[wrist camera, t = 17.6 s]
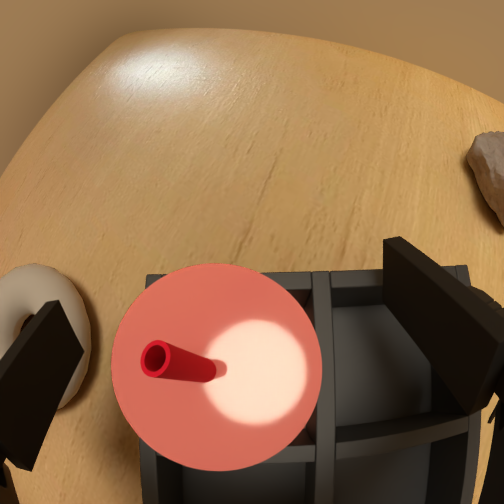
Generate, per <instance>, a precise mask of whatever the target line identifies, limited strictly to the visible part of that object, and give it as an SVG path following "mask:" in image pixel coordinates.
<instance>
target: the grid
mask: <svg viewBox="0 0 504 504" xmlns="http://www.w3.org/2000/svg"><path fill="white" fill-rule="evenodd" d="M441 267H442V268H444V269H445V270H446V271H447V272H449V273H450V274H451V275H453V276H454V277H455V278H456V279H458V280H459V281H460V282H461V283H463V284H464V285H465V286H466V287H468V286H471V282H470V277H469V272H468V267H467V265H456V266H441ZM260 274H263V275H265V276H266V277H268V278H270V279H272V280H273V281H275V282H276V283H278V284H279V285H280V286H282V287H283V288H284V289H285V290H286V291H288V292H289V293H290V294H291V295H292V296H293V297H294V298H295V300H296V301H297V302H298V303H299V304H300V306H301V307H302V308H303V310H304V311H305V313H306V314H307V316H308V318H309V319H310V321H311V323H312V325H313V328H314V330H315V333H316V335H317V338H318V342H319V346H320V351H321V357H322V381H321V388H320V392H319V396H318V400H317V403H316V405H315V408H314V410H313V412H312V414H311V416H310V418H309V420H308V422H307V423H306V425H305V426H304V428H303V429H302V431H301V432H300V433H299V434H298V435H297V437H296V438H295V439H294V440H293V441H292V442H291V443H290V444H289V445H287V446H286V447H285V448H284V449H283V450H281V451H280V452H278V453H277V454H275V455H274V456H272V457H271V458H269V459H267V460H265V461H263V462H260V463H258V464H255V465H253V466H250V467H246V468H242V469H237V470H230V471H207V470H200V469H195V468H191V467H187V466H184V465H181V464H179V463H176V462H174V461H172V460H170V459H168V458H166V457H164V456H163V455H161V454H159V453H158V452H156V451H155V450H154V449H152V448H151V447H150V446H149V445H148V444H146V443H145V442H144V441H143V440H142V439H141V438H140V437H139V448H140V471H141V487H142V499H143V504H472V499H473V493H474V487H475V480H476V473H477V465H478V456H479V445H480V430H481V410H479V411H478V412H476V413H474V414H472V415H470V416H467V414H466V413H465V411H464V410H463V408H462V407H461V406H460V404H459V403H458V401H457V400H456V398H455V397H454V395H453V394H452V393H451V391H450V390H449V388H448V387H447V386H446V384H445V383H444V381H443V380H442V379H441V377H440V376H439V374H438V373H437V372H436V370H435V369H434V368H433V366H432V365H431V364H430V362H429V361H428V359H427V358H426V357H425V355H424V354H423V353H422V351H421V350H420V349H419V348H418V346H417V345H416V344H415V342H414V341H413V340H412V338H411V337H410V336H409V334H408V333H407V332H406V331H405V329H404V328H403V327H402V326H401V324H400V323H399V322H398V320H397V319H396V318H395V317H394V315H393V314H392V313H391V312H390V310H389V309H388V308H387V307H386V305H385V304H384V303H383V302H382V287H383V269H374V270H347V271H330V273H329V271H313V272H310V271H309V272H271V273H260ZM166 275H168V274H163V275H161V274H148V275H147V276H146V285H145V289H147V288H148V287H149V286H150V285H152V284H153V283H154V282H156V281H157V280H159V279H160V278H162V277H164V276H166Z"/></svg>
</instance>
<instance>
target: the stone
mask: <svg viewBox="0 0 504 504" xmlns="http://www.w3.org/2000/svg"><path fill="white" fill-rule="evenodd" d="M466 157H467V161H468V163H469V165H470V167H471V168H472V169H473V171H474V173H475V177H476V181H477V184H478V185H479V189H480V191H481V192H482V194H483V196H484V199H485V200H486V202H487V203H488V205H489V206H490V208H491V209H493V210H494V211H495V212H496V214H497V217H498V219H499V221H500V223H501V224H502V225H503V227H504V132H499V131H496V132H495V133H494V132H488V133H482V134H480V135H477V136H475V139H474V141H473V144H472V146H471V148H470V150H469V152H468V154H467V156H466Z"/></svg>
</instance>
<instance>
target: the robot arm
mask: <svg viewBox="0 0 504 504" xmlns="http://www.w3.org/2000/svg"><path fill="white" fill-rule="evenodd" d="M382 302H383V303H384V304H385V305H386V307H387V308H388V309H389V310H390V312H391V313H392V314H393V315H394V317H395V318H396V319H397V320H398V322H399V323H400V324H401V326H402V327H403V328H404V329H405V331H406V332H407V333H408V334H409V336H410V337H411V338H412V340H413V341H414V342H415V344H416V345H417V346H418V348H419V349H420V350H421V351H422V353H423V354H424V355H425V357H426V358H427V359H428V361H429V362H430V364H431V365H432V366H433V368H434V369H435V370H436V372H437V373H438V374H439V376H440V377H441V379H442V380H443V381H444V383H445V384H446V386H447V387H448V388H449V390H450V391H451V393H452V394H453V395H454V397H455V398H456V400H457V401H458V403H459V404H460V406H461V407H462V408H463V410H464V411H465V413H466V414H467V416H470V415H472V414H474V413H476V412H478V411H479V410H481V409H483V408H485V407H486V406H488V404H489V402H490V400H491V398H492V396H493V394H494V392H495V394H496V395H497V396H498V397H499V401H498V403H497V405H496V407H495V408H494V410H493V412H492V414H491V416H490V417H489V420H488V423H490V424H491V422H492V420H493V418H494V417H495V423H494V431H493V438H492V444H491V450H490V456H489V461H488V466H487V471H486V475H485V479H484V484H483V488H482V491H481V495H480V499H479V502H478V504H504V308H502V306H501V305H500V304H499V303H497V302H496V301H494V299H493V298H491V297H490V296H489V295H488V294H486V293H485V292H484V291H482V290H480V289H477V288H475V287H473V286H468V287H466V286H465V285H464V284H463V283H461V282H460V281H459V280H458V279H456V278H455V277H454V276H453V275H451V274H450V273H449V272H447V271H446V270H445V269H444V268H442V267H441V266H440V265H438V264H437V263H436V262H434V261H433V260H432V259H430V258H429V257H428V256H426V255H425V254H424V253H422V252H421V251H420V250H418V249H417V248H416V247H414V246H413V245H412V244H410V243H409V242H407V241H406V240H405V239H403V238H402V237H400V236H398V237H393V238H388V239H383V287H382ZM84 352H85V351H84V349H83V348H82V346H81V344H80V342H79V340H78V338H77V336H76V334H75V332H74V330H73V328H72V326H71V324H70V322H69V320H68V318H67V316H66V314H65V311H64V309H63V307H62V305H61V303H60V301H59V300H53V301H47V302H45V304H44V305H43V306H42V307H41V308H40V309H39V311H38V312H37V313H36V314H35V316H34V317H33V318H32V319H31V320H30V322H29V323H28V324H27V325H26V327H25V328H24V329H23V330H22V332H21V333H20V334H19V336H18V337H17V338H16V339H15V341H14V342H13V343H12V345H11V346H10V347H9V349H8V350H7V351H6V353H5V354H4V355H3V357H2V358H1V360H0V504H20V503H19V500H18V497H17V494H16V491H15V487H14V484H13V480H12V476H11V472H10V470H9V468H8V466H7V465H6V464H5V463H4V461H5V459H6V458H7V459H8V460H9V461H10V462H12V463H13V464H14V465H15V466H16V467H17V468H20V469H23V470H27V471H31V472H32V469H33V467H34V464H35V461H36V459H37V456H38V454H39V451H40V448H41V446H42V443H43V441H44V439H45V436H46V434H47V431H48V429H49V427H50V424H51V422H52V420H53V417H54V415H55V413H56V411H57V408H58V406H59V404H60V402H61V399H62V397H63V395H64V393H65V391H66V389H67V387H68V384H69V382H70V380H71V378H72V376H73V374H74V372H75V370H76V368H77V366H78V364H79V362H80V360H81V358H82V356H83V354H84Z"/></svg>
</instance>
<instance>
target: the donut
mask: <svg viewBox="0 0 504 504" xmlns="http://www.w3.org/2000/svg"><path fill="white" fill-rule="evenodd" d="M53 300H59V301H60V303H61V305H62V307H63V309H64V311H65V314H66V316H67V318H68V320H69V322H70V324H71V326H72V328H73V330H74V332H75V334H76V336H77V338H78V340H79V342H80V344H81V346H82V348H83V349H84V351H85V352H84V354H83V356H82V358H81V360H80V362H79V364H78V366H77V368H76V370H75V372H74V374H73V376H72V378H71V380H70V382H69V384H68V387H67V389H66V391H65V393H64V395H63V397H62V399H61V402H60V404H59V406H58V408H57V409H60V408H63V407H64V406H65V405H66V404H67V403H68V401H69V400H70V399H71V398H72V397H73V396H74V395H75V394H76V393H77V392H78V390H79V388H80V386H81V384H82V381H83V379H84V377H85V375H86V373H87V370H88V364H89V359H90V353H91V332H90V322H89V319H88V316H87V312H86V309H85V306H84V302H83V299H82V298H81V296H80V295H79V293H78V291H77V290H76V288H75V287H74V285H73V283H72V282H71V281H70V280H69V279H68V278H66V277H65V276H64V275H62V274H61V273H60V272H59V271H57V270H56V269H55V268H52V267H49V266H44V265H40V264H35V263H33V264H28V265H24V266H20V267H16V268H14V269H13V270H11V271H10V272H9V273H7V274H6V275H4V276H3V277H2V278H1V279H0V360H1V358H2V357H3V355H4V354H5V353H6V351H7V350H8V349H9V347H10V346H11V345H12V343H13V342H14V341H15V339H16V338H17V337H18V336H19V334H20V330H21V327H22V325H23V323H24V321H25V320H26V319H27V317H28V316H30V315H31V314H34V315H35V314H36V313H37V312H38V311H39V309H40V308H41V307H42V306H43V305H44V304H45V302H47V301H53Z"/></svg>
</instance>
